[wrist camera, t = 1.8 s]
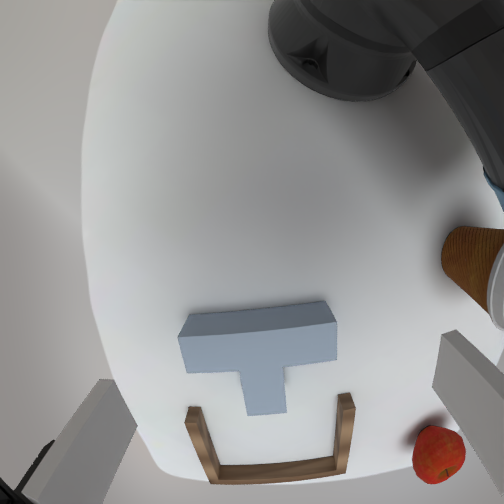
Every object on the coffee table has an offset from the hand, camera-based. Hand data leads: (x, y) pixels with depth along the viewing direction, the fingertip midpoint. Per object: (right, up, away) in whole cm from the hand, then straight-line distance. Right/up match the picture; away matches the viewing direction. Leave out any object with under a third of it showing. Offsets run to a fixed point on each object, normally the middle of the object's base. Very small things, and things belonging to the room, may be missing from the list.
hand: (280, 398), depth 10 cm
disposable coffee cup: (+23, +5, +18) cm, 29 cm away
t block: (0, -5, +21) cm, 21 cm away
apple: (+26, -23, +24) cm, 42 cm away
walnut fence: (+2, -20, +24) cm, 31 cm away
